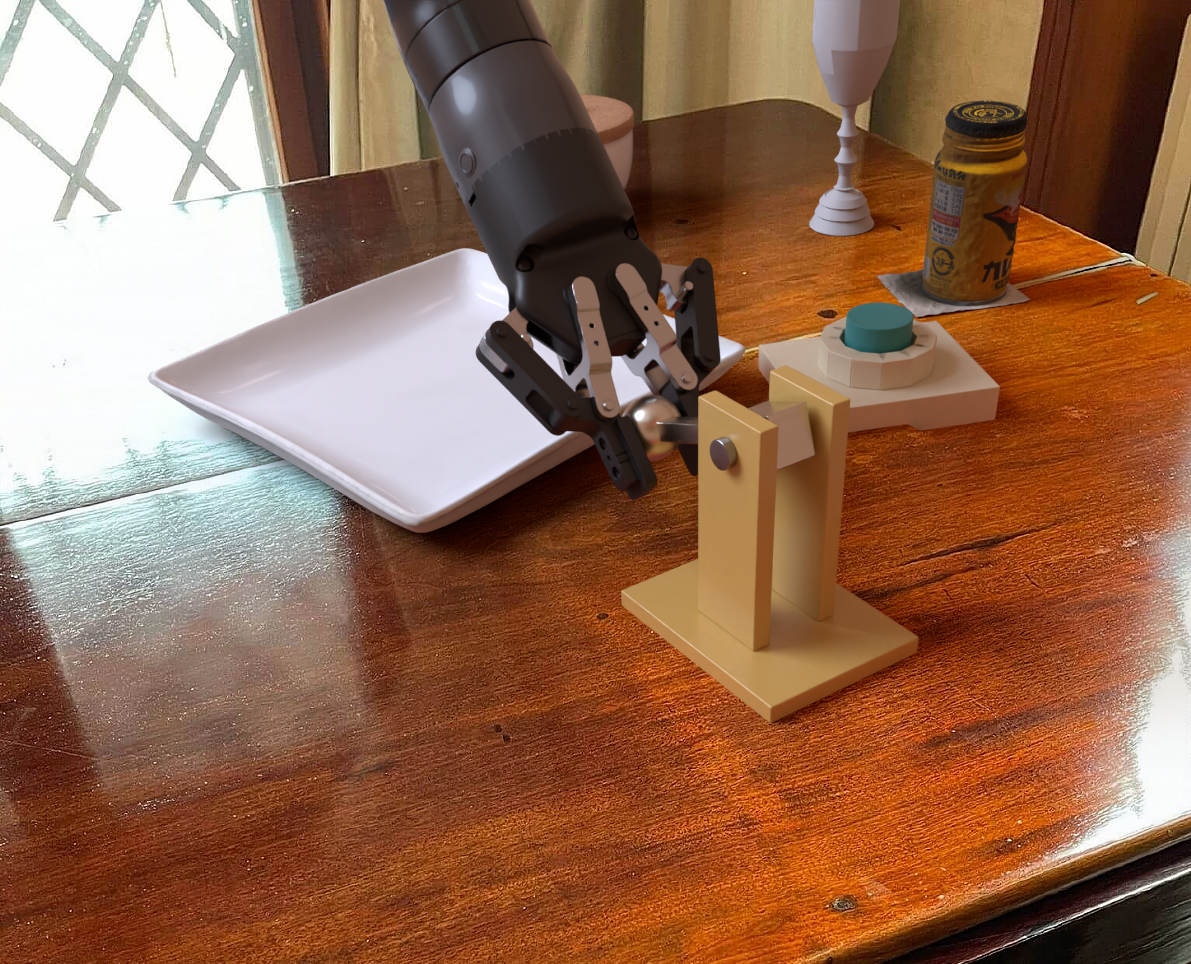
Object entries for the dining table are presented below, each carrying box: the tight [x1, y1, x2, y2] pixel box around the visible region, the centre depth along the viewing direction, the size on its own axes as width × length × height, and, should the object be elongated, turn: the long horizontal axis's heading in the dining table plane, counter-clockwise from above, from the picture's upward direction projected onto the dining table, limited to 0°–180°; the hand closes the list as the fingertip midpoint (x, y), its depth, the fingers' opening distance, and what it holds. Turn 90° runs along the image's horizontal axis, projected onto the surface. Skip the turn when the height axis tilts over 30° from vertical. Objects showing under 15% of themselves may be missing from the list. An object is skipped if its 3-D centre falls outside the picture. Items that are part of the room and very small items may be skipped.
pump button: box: [845, 302, 915, 354], centre depth 85 cm, size 4×4×2 cm
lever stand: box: [620, 365, 919, 724], centre depth 65 cm, size 12×9×13 cm
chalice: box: [808, 0, 901, 237], centre depth 105 cm, size 7×7×18 cm
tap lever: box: [622, 395, 815, 470], centre depth 67 cm, size 13×3×3 cm, turn 34°
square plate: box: [147, 247, 747, 534], centre depth 88 cm, size 27×27×4 cm
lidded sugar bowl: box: [580, 94, 635, 190], centre depth 112 cm, size 11×11×9 cm
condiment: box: [876, 100, 1031, 318], centre depth 96 cm, size 7×8×12 cm
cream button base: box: [757, 316, 1001, 433], centre depth 87 cm, size 12×10×4 cm
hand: (675, 479), depth 71 cm, fingers closed on tap lever, 3 cm apart
